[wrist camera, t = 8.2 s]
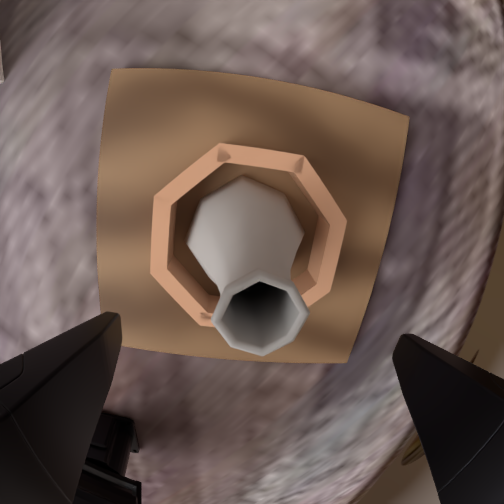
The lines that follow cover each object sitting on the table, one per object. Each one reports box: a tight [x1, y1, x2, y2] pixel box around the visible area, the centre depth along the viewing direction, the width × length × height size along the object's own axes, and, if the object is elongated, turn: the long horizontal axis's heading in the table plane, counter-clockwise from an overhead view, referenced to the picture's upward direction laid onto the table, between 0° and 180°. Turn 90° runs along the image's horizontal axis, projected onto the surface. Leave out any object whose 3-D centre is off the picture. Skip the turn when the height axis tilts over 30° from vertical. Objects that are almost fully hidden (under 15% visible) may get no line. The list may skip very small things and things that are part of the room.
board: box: [97, 68, 409, 363], centre depth 20 cm, size 20×20×1 cm
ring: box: [150, 143, 347, 327], centre depth 18 cm, size 11×11×2 cm
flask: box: [184, 175, 310, 356], centre depth 15 cm, size 7×7×10 cm
